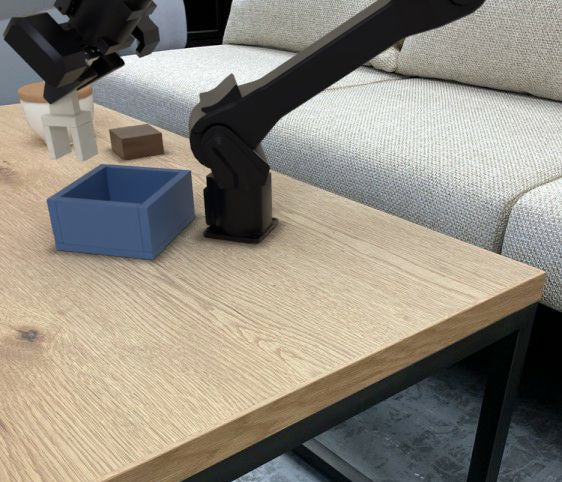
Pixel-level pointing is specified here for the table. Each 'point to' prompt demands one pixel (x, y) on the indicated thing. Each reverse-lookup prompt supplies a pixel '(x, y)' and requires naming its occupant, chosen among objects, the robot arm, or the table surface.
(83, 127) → the white bracket
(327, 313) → the table surface
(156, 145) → the block
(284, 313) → the table surface
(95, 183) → the box
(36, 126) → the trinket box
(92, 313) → the table surface
